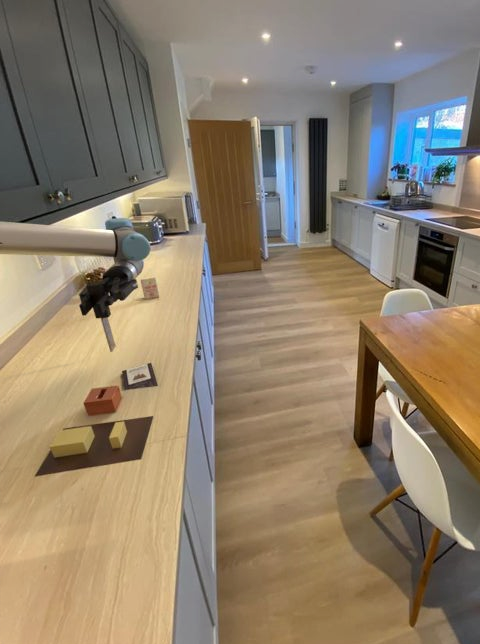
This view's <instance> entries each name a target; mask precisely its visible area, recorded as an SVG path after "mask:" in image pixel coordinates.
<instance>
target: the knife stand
mask: <svg viewBox="0 0 480 644" xmlns="http://www.w3.org/2000/svg"><path fill="white" fill-rule="evenodd" d="M122 399H123V396H122V393H121V389H120V386H119V385H110V386H102V387H94V388H93V387H91V389H90V391H89V393H88V394H87V396H86V398H85V399H84V401H83V406H84V408H85V411H86V414H87V417H91V416H99V415H106V414H114V413H117V411H118V409H119V406H120V405H121V402H122Z"/></svg>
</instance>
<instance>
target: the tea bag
mask: <svg viewBox="0 0 480 644" xmlns="http://www.w3.org/2000/svg"><path fill="white" fill-rule="evenodd" d="M140 282H141V289H142V292H143V298H144V301H146V300H151V299H152V300H153V299H157V298H160V294H159V293H160V292H159V288H158V283H157V279H156V277H151V278H143V279H140Z"/></svg>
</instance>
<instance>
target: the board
mask: <svg viewBox="0 0 480 644" xmlns="http://www.w3.org/2000/svg"><path fill="white" fill-rule="evenodd" d="M153 420H154V415H151V416H149V415H148V416H142V417H135V418H127V419H121V420H113V421H107V422H100V423H93V424H86V425H78V426H72V427H65V428H62V430H67V429H74V428H81V427H88V426H91V427H92V430H93V433H94V436H95V437H94V439H93V441H92V443H91V446H90V448H89V450H88V452H87V453H81V454H75V455H68V456H62V457H55V458H54V456H53V454H52V451H51V449H49V451H48V453H47V455H46V456H45V458H44V459H43V461H42V463H41V465H40V466H39V468H38V469H37V471H36V473H35V474H34V478H35V477H41V476H48V475H53V474H59V473H67V472H71V471H78V470H83V469H89V468H96V467H101V466H108V465H114V464H120V463H126V462H133V461H140V460H142V459H143V455H144V451H145V448H146V444H147V441H148V437H149V434H150V431H151V427H152V423H153ZM123 421H124V423H125V426H126V430H127V433H126V436H125V439H124V442H123V444H122V447H120V448H114V449H112V446H111V443H110V440H109V437H110V434H111V432H112V430H113V427H114V425H115V423H116V422H123Z"/></svg>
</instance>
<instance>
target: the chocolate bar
mask: <svg viewBox="0 0 480 644" xmlns="http://www.w3.org/2000/svg"><path fill="white" fill-rule="evenodd" d="M155 374H156V373H155V371H154V367H153V364H152V362H148V363H145V364H142V365H138V366H134V367H131V368H127V369H123V370H121V376H122V381H123V389H124V391H130V390H139V389H147V388H154V387H159V385H158V381H157V377H156V375H155Z"/></svg>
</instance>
